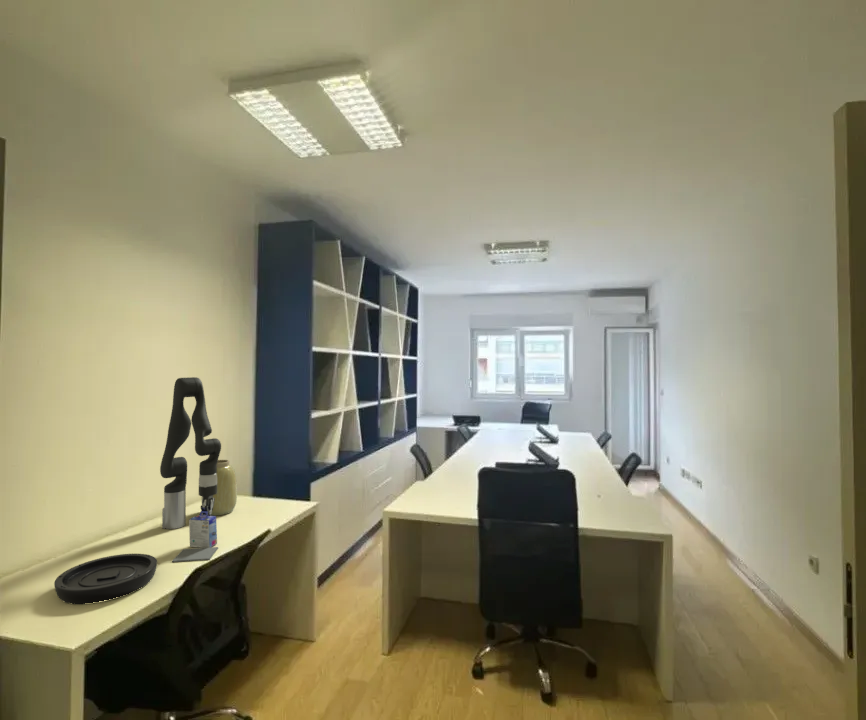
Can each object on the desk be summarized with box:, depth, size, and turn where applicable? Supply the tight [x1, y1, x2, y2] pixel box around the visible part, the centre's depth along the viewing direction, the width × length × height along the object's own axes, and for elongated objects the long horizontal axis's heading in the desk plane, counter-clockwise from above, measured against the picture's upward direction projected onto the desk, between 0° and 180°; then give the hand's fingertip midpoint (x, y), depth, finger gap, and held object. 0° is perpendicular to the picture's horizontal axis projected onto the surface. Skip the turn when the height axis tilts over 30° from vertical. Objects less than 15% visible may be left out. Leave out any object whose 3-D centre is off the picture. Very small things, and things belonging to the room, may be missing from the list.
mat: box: [171, 546, 219, 563], centre depth 193 cm, size 14×12×1 cm
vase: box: [201, 459, 238, 517], centre depth 250 cm, size 17×17×27 cm
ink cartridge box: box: [188, 510, 218, 548], centre depth 203 cm, size 10×6×14 cm, turn 80°
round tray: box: [53, 553, 158, 605], centre depth 167 cm, size 30×6×30 cm
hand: (207, 522), depth 209 cm, fingers closed
